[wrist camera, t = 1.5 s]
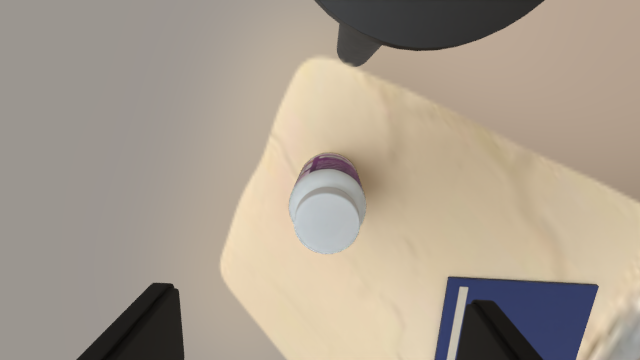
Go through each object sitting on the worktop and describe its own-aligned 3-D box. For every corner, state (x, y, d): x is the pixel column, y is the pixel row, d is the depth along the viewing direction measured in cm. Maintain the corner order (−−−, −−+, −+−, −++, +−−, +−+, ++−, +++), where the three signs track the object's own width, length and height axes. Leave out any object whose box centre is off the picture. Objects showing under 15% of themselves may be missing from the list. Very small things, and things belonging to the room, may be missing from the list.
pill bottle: (300, 148, 27) (284, 175, 17) (361, 154, 27) (377, 184, 17) (296, 206, 28) (279, 260, 19) (354, 212, 28) (365, 269, 19)
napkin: (448, 276, 29) (449, 279, 29) (596, 284, 29) (599, 286, 29) (429, 390, 33) (430, 393, 33) (560, 398, 33) (563, 402, 32)
